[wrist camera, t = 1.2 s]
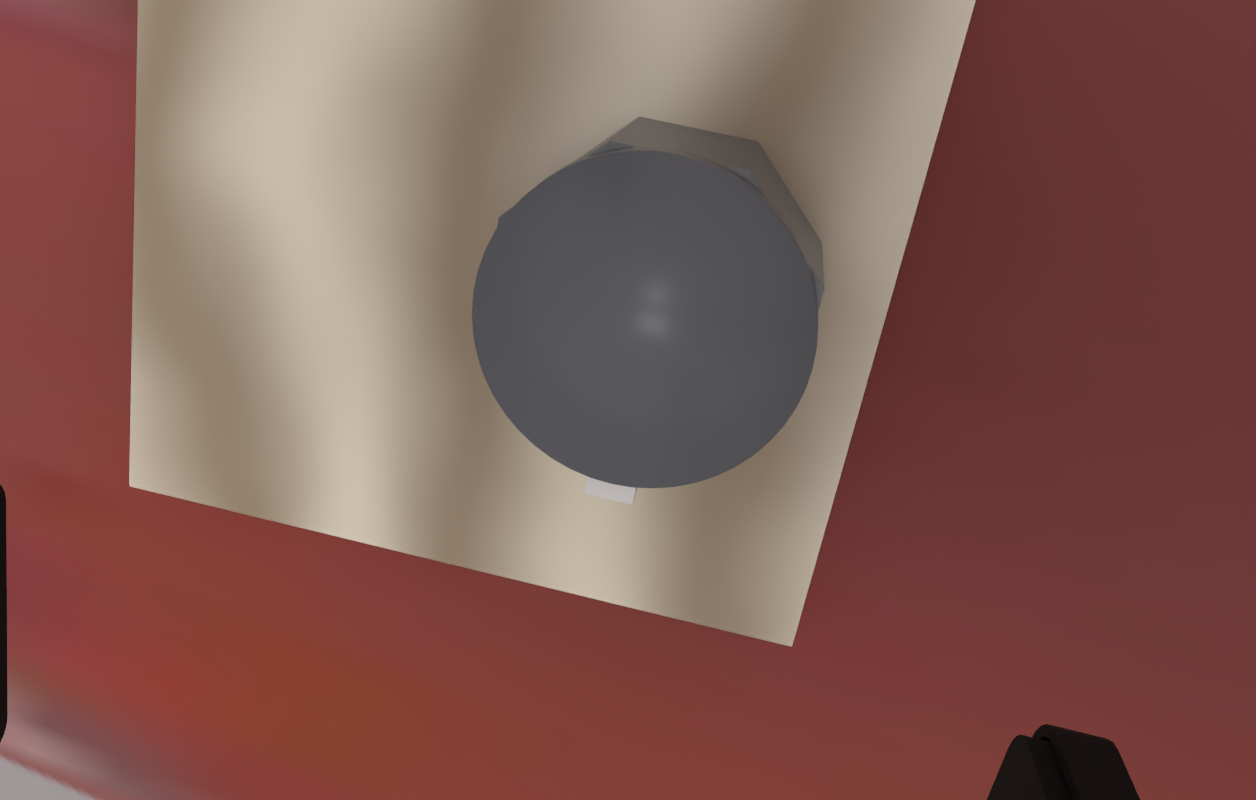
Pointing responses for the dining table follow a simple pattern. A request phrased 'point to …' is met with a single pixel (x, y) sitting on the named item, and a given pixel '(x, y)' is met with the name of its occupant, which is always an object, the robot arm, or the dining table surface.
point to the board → (452, 252)
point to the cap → (651, 308)
